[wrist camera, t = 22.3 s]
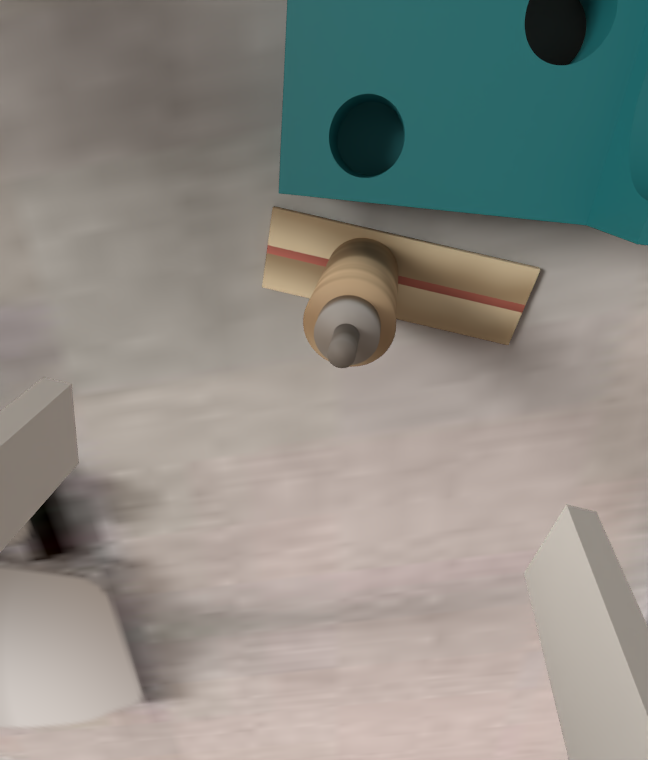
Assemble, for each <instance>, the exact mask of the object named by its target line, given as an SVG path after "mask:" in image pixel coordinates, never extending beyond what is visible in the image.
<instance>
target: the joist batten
mask: <svg viewBox="0 0 648 760" xmlns="http://www.w3.org/2000/svg"><path fill="white" fill-rule="evenodd" d="M355 238H370V239H374V240H376V241H379V242H380V243H382V244H384V245H385V246H386V247H387V248H388V249H389V250H390V251H391V252H392V254H393V255H394V257H395V259H396V262H397V265H398V294H397V315H396V319H399V320H403V321H407V322H412V323H416V324H420V325H424V326H429V327H433V328H437V329H441V330H445V331H450V332H454V333H458V334H462V335H467V336H471V337H475V338H479V339H484V340H488V341H492V342H496V343H500V344H505V345H509V342H510V340H511V338H512V335H513V333H514V331H515V328H516V326H517V324H518V321H519V319H520V317H521V314H522V312H523V310H524V307H525V305H526V303H527V300H528V298H529V296H530V293H531V291H532V289H533V286H534V284H535V282H536V279H537V277H538V274H539V272H540V270H541V269H540V268H539V267H535V266H530V265H526V264H522V263H517V262H513V261H509V260H504V259H500V258H496V257H491V256H487V255H483V254H478V253H474V252H470V251H465V250H461V249H457V248H452V247H448V246H444V245H439V244H435V243H431V242H426V241H422V240H418V239H413V238H409V237H405V236H401V235H396V234H392V233H388V232H383V231H379V230H375V229H370V228H366V227H362V226H357V225H353V224H349V223H344V222H340V221H336V220H331V219H327V218H323V217H318V216H314V215H310V214H305V213H301V212H297V211H292V210H288V209H284V208H280V207H275V206H274V207H273V209H272V217H271V224H270V232H269V239H268V247H267V254H266V262H265V269H264V277H263V284H262V287H264V288H268V289H272V290H276V291H280V292H285V293H289V294H293V295H297V296H302V297H306V298H311V296H312V294H313V292H314V290H315V287H316V285H317V283H318V281H319V279H320V277H321V275H322V273H323V271H324V269H325V267H326V265H327V263H328V261H329V258H330V257H331V255H332V253H333V252H334V251H335V249H336V248H337V247H338V246H340V245H341V244H342V243H344V242H346V241H348V240H351V239H355Z"/></svg>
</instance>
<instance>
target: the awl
mask: <svg viewBox="0 0 648 760" xmlns="http://www.w3.org/2000/svg"><path fill="white" fill-rule="evenodd" d="M397 294H398V265H397V262H396V259H395V257H394V255H393V254H392V252H391V251H390V250H389V249H388V248H387V247H386V246H385V245H384V244H382V243H380V242H379V241H376V240H374V239H370V238H355V239H351V240H348V241H346V242H344V243H342V244H341V245H340V246H338V247H337V248H336V249H335V251H334V252H333V253H332V255H331V257H330V258H329V261H328V263H327V265H326V267H325V269H324V271H323V273H322V275H321V277H320V279H319V281H318V283H317V285H316V287H315V290H314V292H313V294H312V296H311V298H310V300H309V302H308V304H307V306H306V309H305V312H304V318H303V326H304V332H305V335H306V338H307V340H308V342H309V343H310V345H311V347H312V348H313V349H314V350H315V351H316V352H317V353H318V354H319V355H320V356H321V357H323V358H324V359H326V360H328V361H329V362H330V363H331V364H332V365H334V366H335V367H338V368H346V367H349V366H350V367H352V366H361V365H365V364H368V363H371V362H373V361H375V360H376V359H378V358H379V357H380V356H382V355H383V354H384V353H385V352H386V351H387V349H388V348H389V347H390V345H391V343H392V341H393V339H394V336H395V331H396V315H397Z"/></svg>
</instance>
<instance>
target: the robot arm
mask: <svg viewBox="0 0 648 760" xmlns="http://www.w3.org/2000/svg"><path fill="white" fill-rule="evenodd" d="M78 463H79V459H78V448H77V438H76V427H75V416H74V405H73V394H72V384H70V383H66V382H61V381H57V380H53V379H49V378H45V377H43V378H42V379H41V380H39V381H38V382H37V383H35V384H34V385H33V386H32V387H30V388H29V389H28V390H27V391H25V392H24V393H23V394H22V395H20V396H19V397H18V398H16V399H15V400H14V401H13V402H11V403H10V404H9V405H8V406H6V407H5V408H4V409H3V410H1V411H0V552H1V551H2V550H3V549H4V547H5V546H6V545H7V544H8V543H9V542H10V541H11V540H12V538H13V537H14V536H15V535H16V534H17V532H19V530H20V529H21V528H22V527H23V526H24V525H25V524H26V522H27V521H28V520H29V519H30V518H31V517H32V516H33V515H34V513H35V512H36V511H37V510H38V509H39V508H40V507H41V505H42V504H43V503H44V502H45V501H46V500H47V499H48V497H49V496H50V495H51V494H52V493H53V492H54V491H55V490H56V488H57V487H58V486H59V485H60V484H61V483H62V482H63V480H64V479H65V478H66V477H67V476H68V475H69V474H70V472H71V471H72V470H73V469H74V468H75V467H76V466H77V465H78ZM524 576H525V580H526V584H527V588H528V592H529V597H530V601H531V605H532V609H533V613H534V617H535V622H536V626H537V630H538V634H539V638H540V642H541V647H542V651H543V655H544V659H545V663H546V667H547V671H548V676H549V680H550V684H551V688H552V692H553V696H554V701H555V705H556V709H557V713H558V717H559V721H560V726H561V730H562V734H563V738H564V742H565V746H566V750H567V755H568V759H569V760H648V626H647V624H646V622H645V619H644V617H643V615H642V613H641V611H640V608H639V606H638V604H637V602H636V599H635V597H634V595H633V593H632V590H631V588H630V586H629V584H628V581H627V579H626V577H625V575H624V572H623V570H622V568H621V566H620V564H619V561H618V559H617V557H616V555H615V552H614V550H613V548H612V546H611V543H610V541H609V539H608V537H607V534H606V532H605V530H604V528H603V526H602V523H601V521H600V519H599V517H598V514H597V512H596V511H591V510H587V509H583V508H579V507H575V506H571V505H566V506H565V508H564V509H563V511H562V513H561V514H560V516H559V517H558V519H557V521H556V522H555V524H554V526H553V527H552V529H551V530H550V532H549V534H548V535H547V537H546V538H545V540H544V542H543V543H542V545H541V546H540V548H539V550H538V551H537V553H536V555H535V556H534V558H533V559H532V561H531V563H530V564H529V566H528V567H527V569H526V571H525V572H524Z"/></svg>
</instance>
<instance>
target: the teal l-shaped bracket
mask: <svg viewBox="0 0 648 760" xmlns="http://www.w3.org/2000/svg"><path fill="white" fill-rule="evenodd" d="M579 1H580V3H581V4H582V7H583V9H584V12H585V16H586V33H585V38H584V41H583V44H582V46H581V48H580V50H579V52H578V54H577V55H576V57H575V58H574V59H573V61H572V62H571V63H570V64H569V65H553V64H549V63H547V62H545V61H543V60H541V59H540V58H539V57H538V56H536V55H535V53H534V52H533V51H532V49H531V48H530V46H529V44H528V41H527V38H526V34H525V14H526V9H527V6H528V3H529V0H287V21H286V43H285V65H284V87H283V109H282V131H281V153H280V175H279V193H281V194H291V195H301V196H310V197H320V198H329V199H339V200H349V201H358V202H368V203H377V204H387V205H397V206H406V207H416V208H425V209H435V210H445V211H454V212H464V213H473V214H483V215H493V216H502V217H512V218H521V219H531V220H541V221H550V222H560V223H569V224H579V225H587V226H590V227H592V228H595V229H598V230H601V231H603V232H606V233H609V234H611V235H614V236H617V237H619V238H622V239H625V240H628V241H630V242H633V243H636V244H641V245H648V0H579Z"/></svg>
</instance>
